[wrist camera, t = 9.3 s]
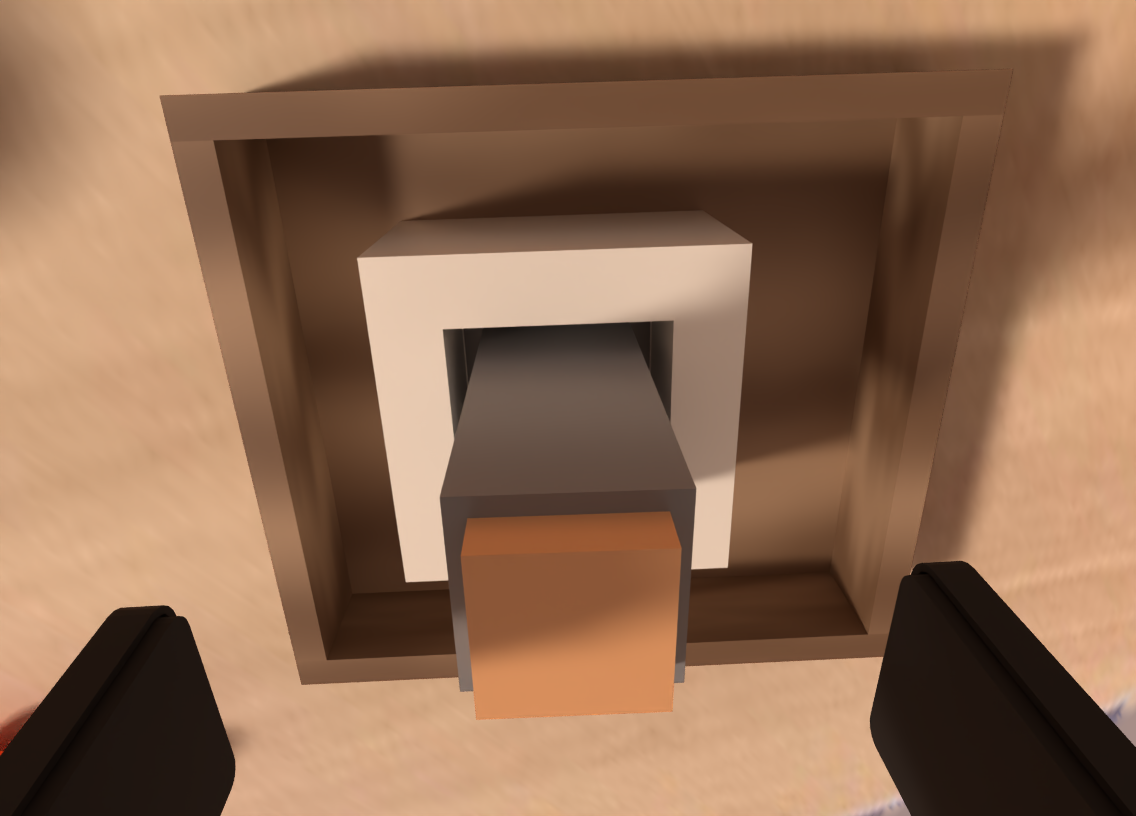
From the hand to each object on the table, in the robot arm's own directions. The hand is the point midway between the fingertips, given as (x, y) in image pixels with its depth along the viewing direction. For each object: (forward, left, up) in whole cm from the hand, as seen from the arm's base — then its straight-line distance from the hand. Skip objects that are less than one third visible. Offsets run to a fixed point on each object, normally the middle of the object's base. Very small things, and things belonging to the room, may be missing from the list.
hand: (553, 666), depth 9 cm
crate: (+2, +1, -15) cm, 15 cm away
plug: (+1, 0, -12) cm, 12 cm away
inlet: (+1, 0, -15) cm, 15 cm away
